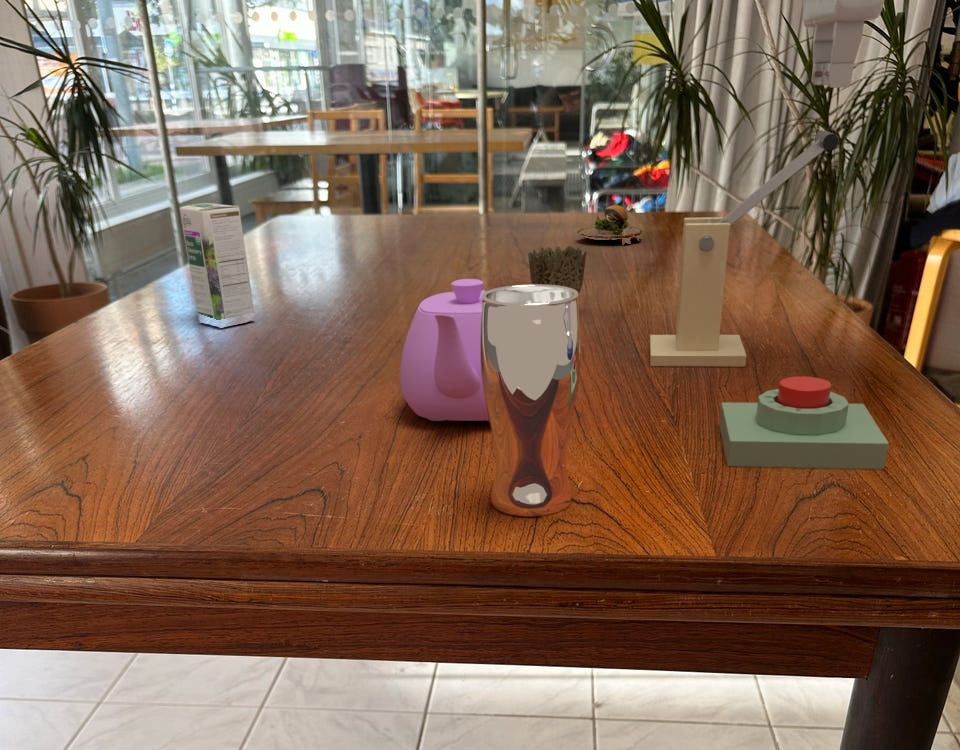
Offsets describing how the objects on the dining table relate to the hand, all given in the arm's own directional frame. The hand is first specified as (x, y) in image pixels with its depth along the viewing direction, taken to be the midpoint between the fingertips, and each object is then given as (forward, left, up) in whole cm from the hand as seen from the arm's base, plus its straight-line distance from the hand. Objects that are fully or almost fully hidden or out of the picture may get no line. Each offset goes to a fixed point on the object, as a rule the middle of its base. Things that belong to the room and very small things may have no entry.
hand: (829, 86), depth 83 cm
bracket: (+9, -7, -26) cm, 28 cm away
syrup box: (+70, -23, -26) cm, 78 cm away
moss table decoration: (+21, -87, -26) cm, 94 cm away
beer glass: (+23, +35, -26) cm, 49 cm away
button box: (+2, +22, -26) cm, 34 cm away
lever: (+3, -7, -10) cm, 13 cm away
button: (+2, +22, -22) cm, 31 cm away
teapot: (+31, +14, -26) cm, 43 cm away
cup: (+26, -27, -26) cm, 46 cm away
